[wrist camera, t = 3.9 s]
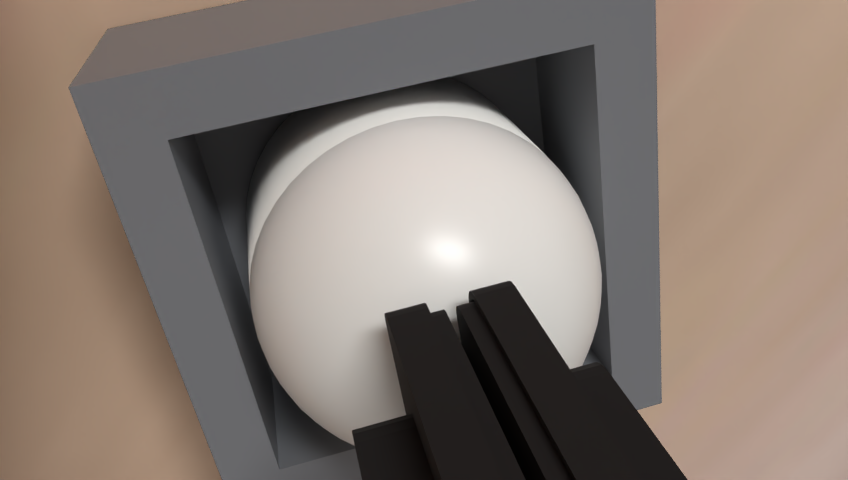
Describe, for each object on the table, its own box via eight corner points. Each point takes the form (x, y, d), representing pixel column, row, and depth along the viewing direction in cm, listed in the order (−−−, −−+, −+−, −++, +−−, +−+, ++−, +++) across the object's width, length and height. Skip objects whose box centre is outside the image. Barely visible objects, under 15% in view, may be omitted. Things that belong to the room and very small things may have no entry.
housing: (559, -65, 15) (654, -38, 11) (584, 304, 19) (661, 403, 15) (107, 29, 14) (68, 87, 10) (237, 397, 18) (239, 523, 14)
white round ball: (516, 39, 14) (668, 140, 9) (542, 296, 17) (670, 480, 12) (208, 107, 13) (196, 255, 9) (286, 363, 16) (310, 587, 11)
